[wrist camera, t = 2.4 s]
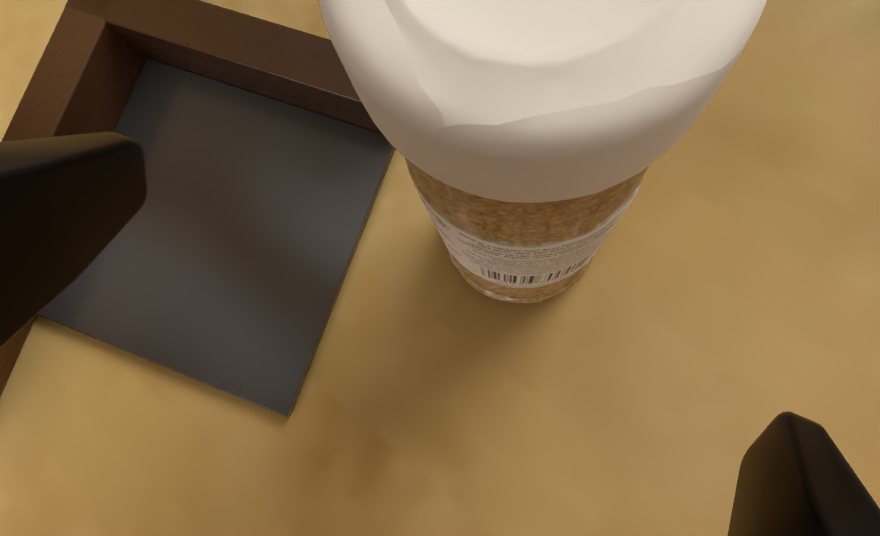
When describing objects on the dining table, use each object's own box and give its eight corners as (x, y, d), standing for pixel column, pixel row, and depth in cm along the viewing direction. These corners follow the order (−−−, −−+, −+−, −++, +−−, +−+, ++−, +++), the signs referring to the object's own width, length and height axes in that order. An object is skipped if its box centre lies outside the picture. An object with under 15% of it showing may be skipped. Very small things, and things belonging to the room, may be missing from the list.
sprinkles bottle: (607, 170, 19) (822, -279, 6) (583, 320, 19) (765, 185, 5) (457, 148, 20) (353, -303, 7) (429, 293, 19) (251, 111, 6)
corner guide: (231, 565, 18) (188, 594, 16) (-62, 431, 20) (-142, 439, 18) (415, 98, 20) (401, 60, 18) (131, 10, 22) (83, -36, 19)
